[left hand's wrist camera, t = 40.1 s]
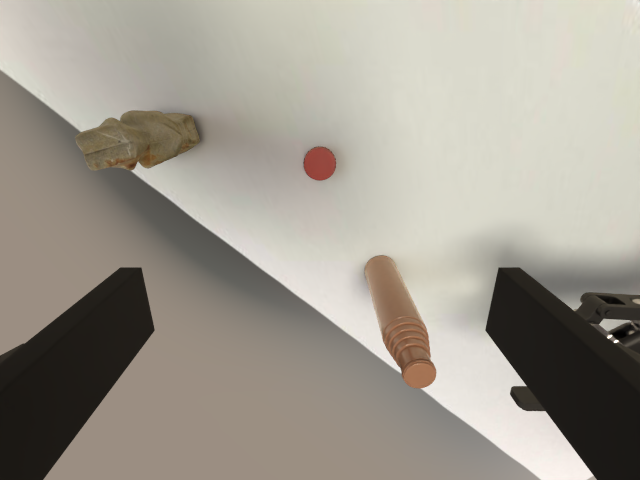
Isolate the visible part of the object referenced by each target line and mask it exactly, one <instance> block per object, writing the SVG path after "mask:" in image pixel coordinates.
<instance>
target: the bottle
mask: <svg viewBox="0 0 640 480" xmlns="http://www.w3.org/2000/svg"><path fill="white" fill-rule="evenodd" d="M365 276H366V280H367V283H368V287H369V291H370V295H371V298H372V302H373V306H374V309H375V313H376V317H377V320H378V324H379V328H380V331H381V335H382V339H383V342H384V344H385V346H386V348H387V350H388V351H389V353H390V354H391V356H392V357H393V359H394V360H395V361H396V363H397V365H398V366H399V367H400V368H401V371H402V377H403V379H404V381H405V382H406V383H407V384H408V385H409V386H410V387H413V388H424V387H427V386H429V385H430V384H431V383H433V381H434V380H435V378H436V369H435V366H434V364H433V363H432V362H431V359H430V357H431V355H430V347H429V340H428V339H429V337H428V333H427V329H426V326H425V324H424V322H423V320H422V318H421V316H420V314H419V312H418V310H417V308H416V306H415V304H414V302H413V300H412V298H411V295H410V293H409V291H408V289H407V287H406V285H405V283H404V281H403V279H402V277H401V275H400V273H399V271H398V269H397V267H396V265H395V263H394V261H393V260H392V259H391V258H389V257H387V256H376V257H374V258H372V259H370V260H369V261H368V262H367V264H366V266H365Z"/></svg>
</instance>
